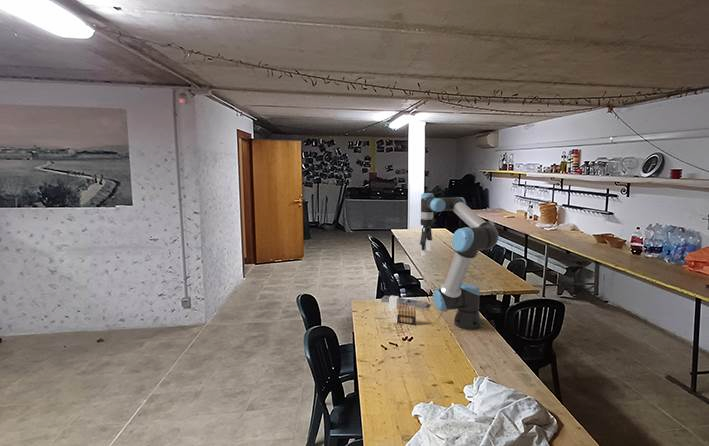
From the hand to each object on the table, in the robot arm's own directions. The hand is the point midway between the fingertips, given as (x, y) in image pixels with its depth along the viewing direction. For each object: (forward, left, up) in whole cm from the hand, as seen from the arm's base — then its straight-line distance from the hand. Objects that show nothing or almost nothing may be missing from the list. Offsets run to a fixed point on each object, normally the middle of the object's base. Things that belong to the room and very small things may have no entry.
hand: (425, 252), depth 242 cm
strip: (+8, -3, -37) cm, 38 cm away
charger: (+18, +7, -37) cm, 41 cm away
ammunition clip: (+4, +25, -37) cm, 45 cm away
